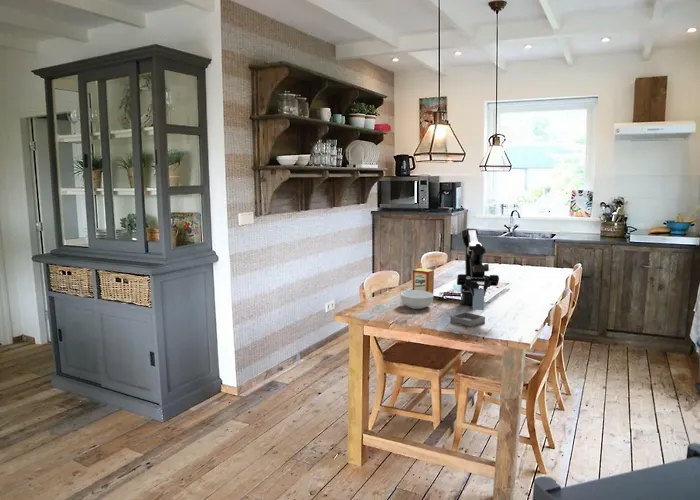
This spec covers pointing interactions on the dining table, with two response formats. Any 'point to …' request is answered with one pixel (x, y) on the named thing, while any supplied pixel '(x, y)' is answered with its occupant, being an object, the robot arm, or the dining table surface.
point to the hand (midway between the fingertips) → (478, 295)
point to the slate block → (478, 299)
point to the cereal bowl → (417, 298)
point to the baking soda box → (423, 280)
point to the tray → (467, 319)
